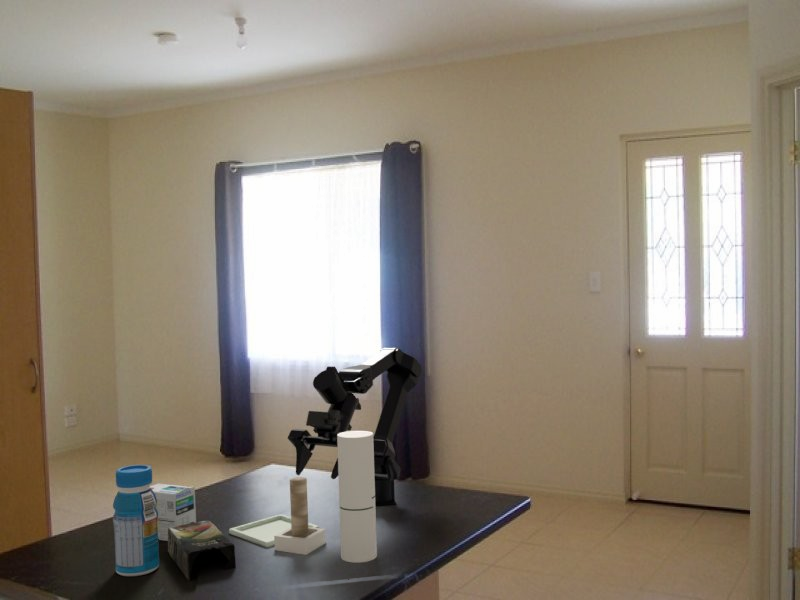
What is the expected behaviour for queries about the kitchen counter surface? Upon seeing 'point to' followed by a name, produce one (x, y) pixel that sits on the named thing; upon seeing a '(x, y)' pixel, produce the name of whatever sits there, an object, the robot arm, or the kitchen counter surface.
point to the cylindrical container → (357, 496)
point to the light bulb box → (174, 507)
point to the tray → (264, 529)
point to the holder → (300, 541)
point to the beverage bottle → (135, 522)
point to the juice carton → (197, 544)
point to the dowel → (299, 507)
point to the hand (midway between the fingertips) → (314, 476)
